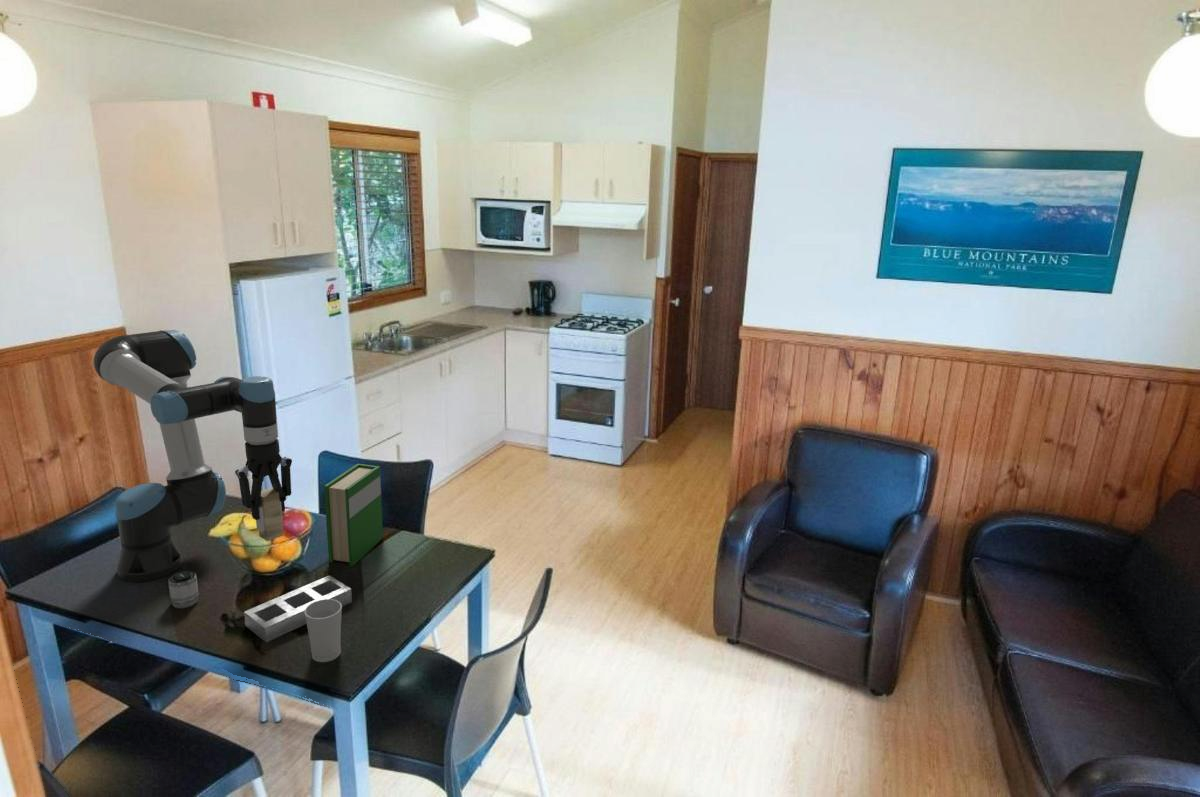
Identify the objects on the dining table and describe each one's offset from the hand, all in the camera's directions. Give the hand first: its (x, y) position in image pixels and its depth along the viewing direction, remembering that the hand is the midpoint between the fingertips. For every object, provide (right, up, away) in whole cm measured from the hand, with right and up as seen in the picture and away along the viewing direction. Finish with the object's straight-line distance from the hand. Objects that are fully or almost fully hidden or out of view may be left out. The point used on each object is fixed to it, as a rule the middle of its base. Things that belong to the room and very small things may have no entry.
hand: (270, 526), depth 178 cm
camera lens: (-23, -20, +2) cm, 31 cm away
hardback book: (+11, -13, +32) cm, 37 cm away
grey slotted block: (+8, -22, 0) cm, 23 cm away
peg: (0, -3, +1) cm, 3 cm away
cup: (+20, -27, -14) cm, 37 cm away
